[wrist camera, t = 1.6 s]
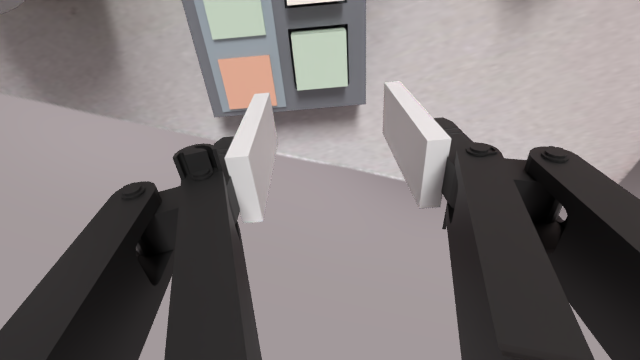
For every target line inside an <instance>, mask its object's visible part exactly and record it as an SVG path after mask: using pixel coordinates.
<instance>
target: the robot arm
mask: <svg viewBox="0 0 640 360" xmlns="http://www.w3.org/2000/svg"><path fill="white" fill-rule="evenodd" d="M383 135H384V137H385V139H386V141H387V143H388V145H389V147H390V149H391V152H392V154H393V156H394V158H395V160H396V162H397V164H398V166H399V168H400V170H401V172H402V174H403V176H404V178H405V181H406V183H407V185H408V187H409V188H410V191H411V193H412V195H413V197H414V199H415V201H416V203H417V205H418V207H419V209H423V208H434V207H440V204H441V199H442V194H443V195H444V197H445V199H446V200H447V207H446V212H445V218H444V224H443V228H442V229H446V227H447V232H448V240H449V250H450V259H451V267H452V276H453V285H454V295H455V304H456V312H457V322H458V330H459V339H460V349H461V356H462V357H461V358H462V360H594V358H593V355H592V353H591V351H590V349H589V347H588V344H587V342H586V340H585V338H584V335H583V334H582V331H581V329H580V326H579V324H578V322H577V320H576V318H575V315H574V313H573V311H572V309H571V307H570V305H571V306H572V307H573V309H574V310H575V311H576V312H577V314H578V315H579V316H580V318H581V319H582V321H583V322H584V323H585V325H586V326H587V327H588V329H589V330H590V331H591V333H592V334H593V335H594V337H595V338H596V339H597V341H598V342H599V343H600V345H601V346H602V347H603V349H604V350H605V351H606V353H607V354H608V355H609V357H610V358H611V359H612V360H640V199H638V198H637V197H635V196H634V195H632V194H631V193H630V192H628V191H627V190H625V189H624V188H623V187H621V186H620V185H618V184H617V183H616V182H614V181H613V180H611V179H610V178H609V177H607V176H606V175H604V174H603V173H602V172H600V171H599V170H597V169H596V168H595V167H593V166H592V165H590V164H589V163H587V162H586V161H585V160H583V159H582V158H580V157H579V156H578V155H576V154H574V153H572V152H570V151H567V150H564V149H563V148H559V147H556V148H555V147H553V146H549V147H537V148H534V149H532V150H530V153H529V156H528V159H527V160H517V159H506V158H503V155H502V153H501V152H500V151H499V150H498V149H497V148H495V147H493V146H491V145H488V144H484V143H476V142H473V141H472V140H471V139H469V138H468V137H467V136H466V135H465V134H464V133H463V132H462V131H461V130H460V129H459V128H458V127H457V126H456V125H455V124H454V123H453V122H452V121H450V120H447V119H445V118H432V116H431V115H430V114H429V113H428V112H427V111H426V110H425V109H424V108H423V106H422V105H421V104H420V103H419V102H418V101H417V100H416V99H415V97H414V96H413V95H412V94H411V93H410V92H409V91H408V90H407V89H406V87H405V86H404V85H403V84H402V83H401V82H400V81H395V82H384V108H383ZM277 145H278V139H277V133H276V128H275V122H274V116H273V110H272V104H271V98H270V93H259V94H254V96H253V98H252V100H251V102H250V104H249V107H248V109H247V111H246V113H245V115H244V117H243V119H242V122H241V124H240V126H239V128H238V130H237V132H236V134H235V136H234V137H223V138H221V139H220V140H219V141H217V142H216V143H215V144H214V145H211V144H196V145H192V146H189V147H186V148H183V149H181V150H179V151H178V152H177V153H176V154H175V155H174V156H173V160H174V162H175V165H176V168H177V170H178V173H179V175H180V178H181V186H179V187H176V188H172V189H168V190H165V191H160V192H158V190H157V188H156V186H155V184H154V183H151V182H137V183H131V184H130V185H129V184H128V185H126V186H124V187H123V188H121V189H119V190H118V191H116V192H115V193H114V194H113V195H112V196H111V197H110V198H109V199H108V201H107V202H106V203H105V204H104V206H103V207H102V208H101V209H100V210H99V212H98V213H97V214H96V215H95V216H94V218H93V219H92V220H91V221H90V222H89V224H88V225H87V226H86V227H85V228H84V230H83V231H82V232H81V233H80V235H79V236H78V237H77V238H76V239H75V241H74V242H73V243H72V244H71V245H70V247H69V248H68V249H67V250H66V252H65V253H64V254H63V255H62V256H61V257H60V259H59V260H58V261H57V263H56V264H55V265H54V266H53V267H52V268H51V270H50V271H49V272H48V273H47V274H46V276H45V277H44V278H43V279H42V280H41V282H40V283H39V284H38V285H37V286H36V288H35V289H34V290H33V291H32V293H31V294H30V295H29V296H28V297H27V298H26V300H25V301H24V302H23V303H22V305H21V306H20V307H19V308H18V310H17V311H16V312H15V313H14V314H13V315H12V317H11V318H10V319H9V320H8V322H7V323H6V324H5V325H4V326H3V328H2V329H1V330H0V360H138V359H139V356H140V354H141V351H142V349H143V346H144V344H145V341H146V339H147V336H148V334H149V331H150V329H151V326H152V324H153V321H154V319H155V316H156V314H157V311H158V309H159V306H160V304H161V301H162V299H163V296H164V294H165V291H166V289H167V286H168V284H169V281H170V279H171V276H172V285H171V295H170V306H169V316H168V328H167V338H166V348H165V360H262V357H261V352H260V346H259V340H258V334H257V328H256V322H255V316H254V310H253V304H252V298H251V292H250V286H249V281H248V275H247V270H246V263H245V257H244V252H243V245H242V239H241V233H240V228H239V225H238V222H237V219H238V215H239V212H240V215H241V218H242V222H243V223H252V222H262V221H264V215H265V210H266V204H267V199H268V194H269V187H270V183H271V177H272V172H273V166H274V161H275V156H276V150H277ZM562 206H563V207H564V208H565V209H566V212H567V215H568V216H567V218H566V220H565V221H564V220H562V219H561V218H560V216H559V213H560V210H561V208H562ZM569 303H570V304H569Z"/></svg>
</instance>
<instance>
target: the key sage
mask: <svg viewBox="0 0 640 360" xmlns="http://www.w3.org/2000/svg"><path fill="white" fill-rule="evenodd" d="M291 41H292V49H293V58H294V66H295V75H296V83H297V91H299V90H310V89H321V88H333V87H344V86H348V77H347V43H346V30H345V28H344V27H333V28H322V29H311V30H300V31H292V34H291Z"/></svg>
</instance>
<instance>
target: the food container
mask: <svg viewBox="0 0 640 360" xmlns="http://www.w3.org/2000/svg"><path fill="white" fill-rule="evenodd" d="M24 1H25V0H0V14H2V13H6V12H8V11H10V10H12V9H14V8H16V7H18V6H19V5H20V4H21V3H23V2H24Z"/></svg>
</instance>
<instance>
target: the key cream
mask: <svg viewBox="0 0 640 360" xmlns="http://www.w3.org/2000/svg"><path fill="white" fill-rule="evenodd" d="M331 1H341V0H287V5H298V4H309V3H320V2H331Z"/></svg>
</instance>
